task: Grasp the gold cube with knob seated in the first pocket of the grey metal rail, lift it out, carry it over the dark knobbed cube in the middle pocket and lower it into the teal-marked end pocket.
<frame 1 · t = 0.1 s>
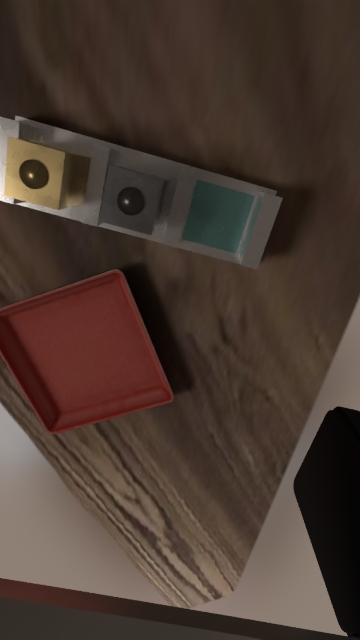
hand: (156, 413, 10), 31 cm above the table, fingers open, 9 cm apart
rail: (143, 195, 37), on the table
dark knobbed cube: (141, 196, 35), point 2 cm above the table, touching rail
gold cube with knob: (62, 174, 34), point 2 cm above the table, touching rail
plant saucer: (88, 347, 45), on the table
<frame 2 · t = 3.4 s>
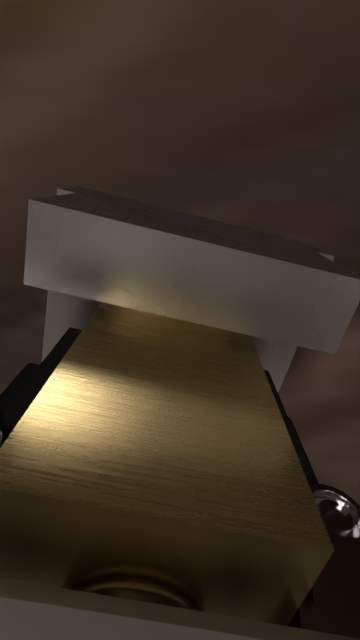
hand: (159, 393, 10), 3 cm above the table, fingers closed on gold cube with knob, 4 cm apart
rail: (130, 492, 16), on the table
gold cube with knob: (162, 373, 12), point 2 cm above the table, touching gripper, rail
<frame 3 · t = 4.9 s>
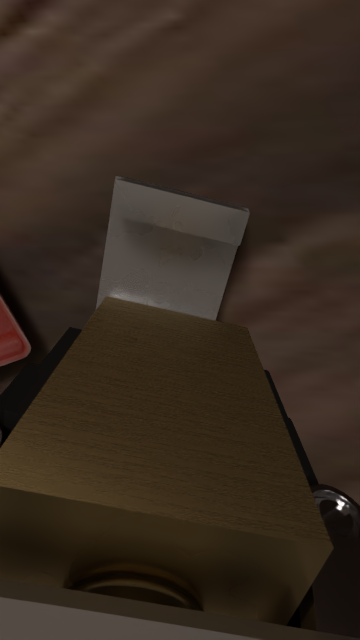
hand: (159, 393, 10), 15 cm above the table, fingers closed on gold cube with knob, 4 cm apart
rail: (144, 363, 27), on the table
gold cube with knob: (162, 372, 12), point 14 cm above the table, touching gripper
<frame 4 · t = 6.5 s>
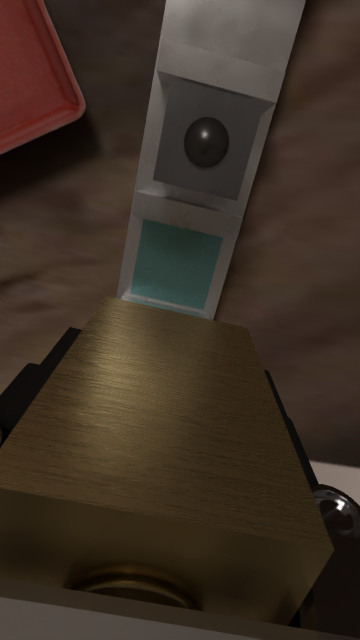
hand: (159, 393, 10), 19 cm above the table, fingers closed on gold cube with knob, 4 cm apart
rail: (200, 154, 25), on the table
dark knobbed cube: (201, 152, 23), point 2 cm above the table, touching rail
gold cube with knob: (162, 373, 12), point 18 cm above the table, touching gripper
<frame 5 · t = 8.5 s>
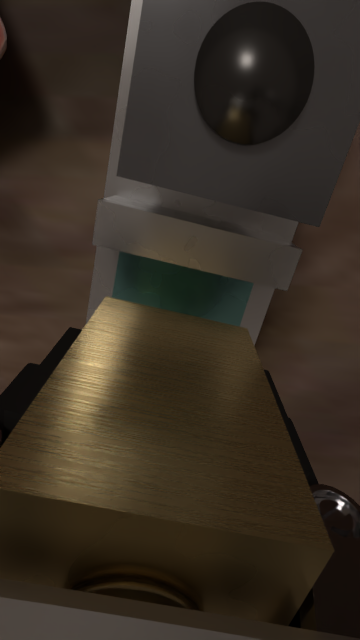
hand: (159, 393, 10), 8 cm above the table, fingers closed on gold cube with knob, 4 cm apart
rail: (217, 134, 15), on the table
dark knobbed cube: (221, 128, 13), point 2 cm above the table, touching rail
gold cube with knob: (162, 373, 12), point 7 cm above the table, touching gripper
when the fingers open (5 cm above the table, at t = 10.0 s): gold cube with knob drops 2 cm, resting on rail.
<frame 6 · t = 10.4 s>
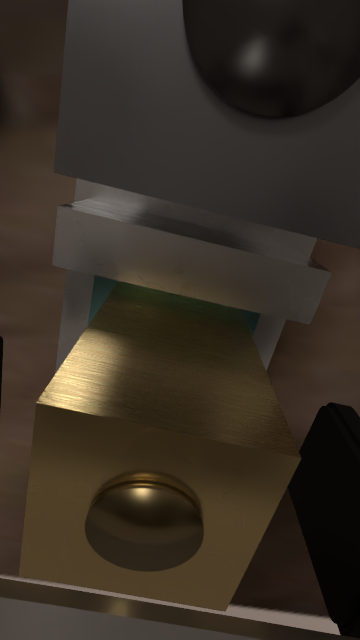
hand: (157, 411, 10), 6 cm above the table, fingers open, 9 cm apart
rail: (218, 123, 12), on the table
dark knobbed cube: (223, 113, 10), point 2 cm above the table, touching rail
gold cube with knob: (166, 351, 13), point 2 cm above the table, touching rail
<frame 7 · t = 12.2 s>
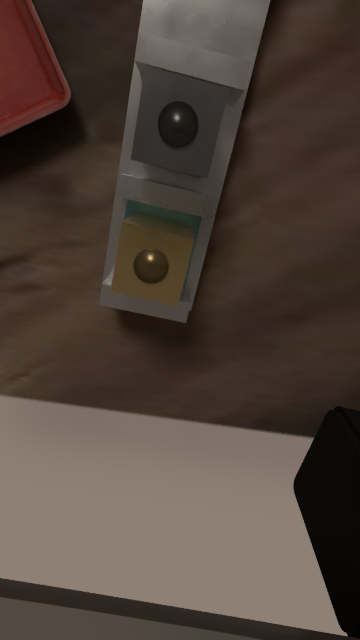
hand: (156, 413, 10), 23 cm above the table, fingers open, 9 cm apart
rail: (179, 140, 27), on the table
dark knobbed cube: (179, 138, 25), point 2 cm above the table, touching rail
gold cube with knob: (158, 245, 28), point 2 cm above the table, touching rail
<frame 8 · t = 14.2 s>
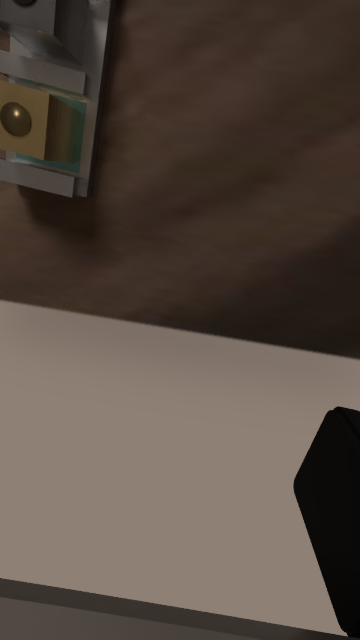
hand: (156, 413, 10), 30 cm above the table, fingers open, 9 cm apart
rail: (66, 35, 31), on the table
dark knobbed cube: (59, 26, 29), point 2 cm above the table, touching rail
gold cube with knob: (50, 131, 32), point 2 cm above the table, touching rail
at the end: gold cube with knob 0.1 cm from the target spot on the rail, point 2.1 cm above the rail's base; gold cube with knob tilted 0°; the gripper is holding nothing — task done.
